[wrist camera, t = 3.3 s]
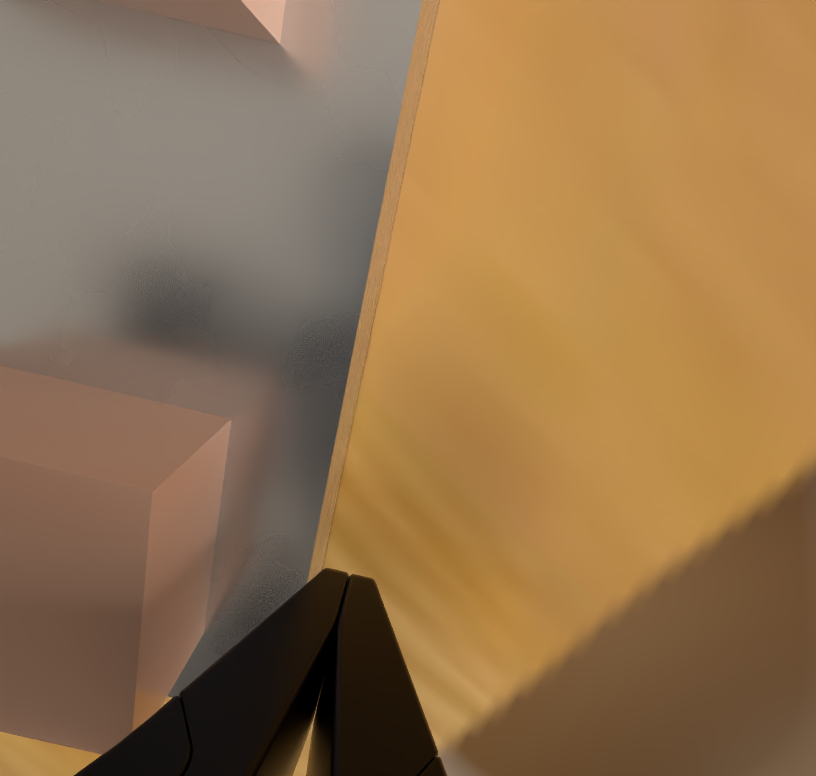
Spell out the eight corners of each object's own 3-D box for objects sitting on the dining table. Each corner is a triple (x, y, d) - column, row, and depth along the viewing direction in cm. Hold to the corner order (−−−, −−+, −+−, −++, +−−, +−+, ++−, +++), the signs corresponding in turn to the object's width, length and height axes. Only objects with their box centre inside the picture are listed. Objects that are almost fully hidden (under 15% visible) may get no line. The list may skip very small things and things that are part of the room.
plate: (309, 630, 13) (280, 721, 11) (-90, 539, 13) (-211, 610, 11) (513, -361, 8) (546, -631, 5) (-174, -531, 7) (-461, -885, 5)
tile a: (203, 633, 10) (129, 761, 8) (-28, 580, 10) (-176, 691, 8) (231, 418, 9) (152, 491, 6) (-37, 356, 9) (-217, 407, 6)
